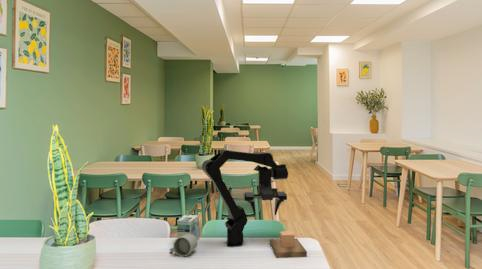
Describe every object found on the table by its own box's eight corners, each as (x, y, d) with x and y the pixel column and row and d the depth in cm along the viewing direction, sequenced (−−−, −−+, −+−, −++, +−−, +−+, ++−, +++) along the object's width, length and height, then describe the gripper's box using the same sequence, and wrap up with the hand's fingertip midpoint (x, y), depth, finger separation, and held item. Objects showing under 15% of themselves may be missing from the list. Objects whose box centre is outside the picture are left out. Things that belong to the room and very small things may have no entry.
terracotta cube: (282, 247, 147) (282, 235, 147) (280, 243, 152) (279, 231, 152) (294, 247, 147) (294, 234, 147) (291, 243, 152) (291, 231, 152)
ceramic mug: (199, 250, 150) (198, 231, 150) (191, 257, 142) (190, 238, 142) (175, 248, 153) (174, 230, 153) (166, 255, 145) (165, 236, 145)
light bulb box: (191, 246, 155) (191, 221, 155) (176, 245, 157) (176, 220, 156) (199, 238, 166) (199, 214, 166) (185, 237, 167) (185, 214, 167)
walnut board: (276, 257, 141) (276, 252, 141) (269, 244, 157) (269, 239, 157) (306, 256, 142) (306, 251, 142) (296, 243, 158) (296, 238, 158)
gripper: (245, 183, 154) (246, 220, 154) (289, 183, 155) (289, 219, 156) (243, 179, 165) (243, 214, 165) (284, 179, 166) (284, 213, 167)
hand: (265, 215), depth 163 cm, fingers open, 9 cm apart
